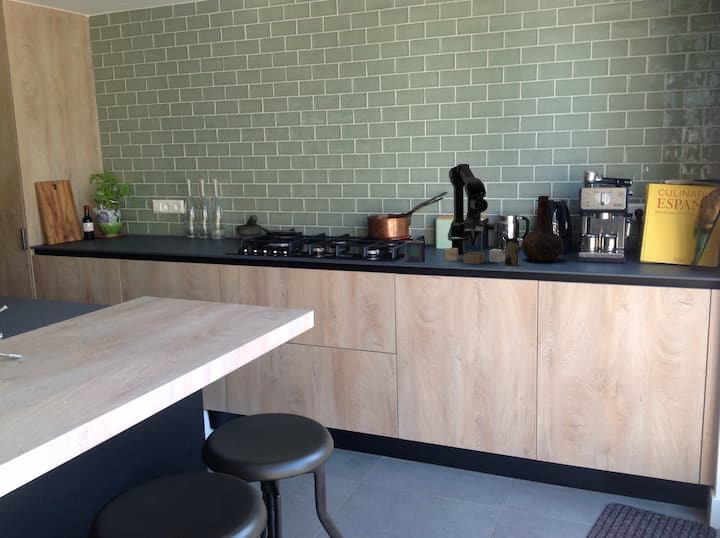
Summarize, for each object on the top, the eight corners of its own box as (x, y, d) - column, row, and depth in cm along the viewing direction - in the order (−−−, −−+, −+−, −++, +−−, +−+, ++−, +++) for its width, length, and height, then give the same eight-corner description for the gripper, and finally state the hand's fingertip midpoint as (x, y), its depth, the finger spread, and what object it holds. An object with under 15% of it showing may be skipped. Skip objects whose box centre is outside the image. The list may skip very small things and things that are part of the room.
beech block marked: (446, 258, 302) (446, 247, 301) (457, 259, 301) (457, 247, 300) (445, 260, 297) (445, 249, 296) (456, 261, 296) (456, 249, 295)
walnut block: (468, 260, 296) (468, 252, 296) (484, 261, 293) (484, 252, 292) (463, 263, 290) (463, 254, 290) (479, 264, 287) (479, 255, 286)
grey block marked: (494, 260, 296) (495, 248, 295) (505, 261, 293) (505, 249, 292) (489, 261, 292) (489, 250, 291) (499, 262, 289) (499, 251, 288)
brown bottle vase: (539, 265, 279) (540, 198, 274) (512, 259, 295) (513, 195, 290) (572, 261, 286) (574, 195, 281) (545, 255, 302) (546, 193, 298)
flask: (404, 261, 298) (403, 237, 296) (406, 260, 300) (406, 236, 298) (423, 262, 294) (423, 238, 292) (426, 261, 296) (425, 237, 294)
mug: (520, 265, 281) (521, 236, 279) (512, 266, 277) (513, 238, 275) (505, 263, 287) (505, 235, 285) (497, 264, 283) (497, 236, 281)
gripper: (447, 211, 284) (447, 248, 287) (490, 212, 277) (490, 249, 279) (455, 209, 294) (455, 244, 297) (497, 209, 286) (497, 245, 289)
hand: (473, 246), depth 290 cm, fingers closed
